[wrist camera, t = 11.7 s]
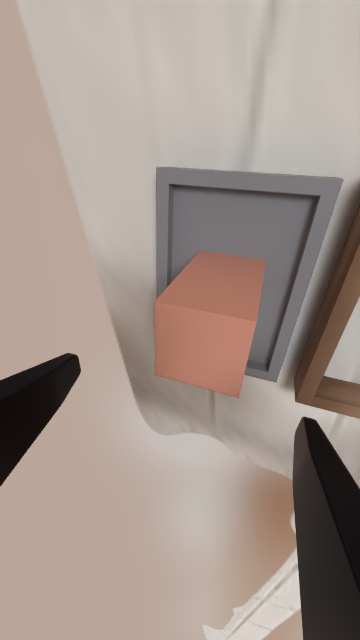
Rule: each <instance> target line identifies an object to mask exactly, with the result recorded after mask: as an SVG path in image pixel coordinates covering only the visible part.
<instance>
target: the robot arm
mask: <svg viewBox="0 0 360 640" xmlns="http://www.w3.org/2000/svg"><path fill="white" fill-rule="evenodd" d="M80 372H81V368H80V363H79V358H78V356H77V355H75V354H71V353H67V354H64V355H61V356H59V357H57V358H54V359H52V360H49V361H47V362H44V363H42V364H40V365H37V366H35V367H32V368H30V369H28V370H25V371H22V372H20V373H17V374H15V375H12V376H10V377H8V378H5V379H3V380H0V486H1V485H2V484H3V482H4V481H5V480H6V478H7V477H8V476H9V474H10V473H11V471H12V470H13V469H14V468H15V466H16V465H17V464H18V462H19V461H20V459H21V458H22V457H23V456H24V454H25V453H26V452H27V450H28V449H29V448H30V446H31V445H32V443H33V442H34V441H35V439H36V438H37V437H38V435H39V434H40V433H41V431H42V430H43V429H44V427H45V426H46V425H47V423H48V422H49V421H50V419H51V418H52V417H53V415H54V414H55V413H56V411H57V410H58V409H59V407H60V406H61V404H62V403H63V401H64V400H65V398H66V396H67V395H68V393H69V391H70V389H71V388H72V386H73V385H74V383H75V381H76V380H77V378H78V376H79V375H80ZM293 497H294V512H295V526H296V541H297V555H298V570H299V584H300V598H301V613H302V627H303V640H360V488H359V487H358V485H357V484H356V482H355V481H354V479H353V477H352V476H351V474H350V473H349V471H348V470H347V468H346V466H345V465H344V463H343V462H342V460H341V459H340V457H339V455H338V454H337V452H336V451H335V449H334V448H333V446H332V444H331V443H330V441H329V440H328V438H327V436H326V435H325V433H324V432H323V430H322V429H321V427H320V425H319V424H318V422H317V421H316V420H314V419H311V418H307V417H302V419H301V421H300V423H299V425H298V427H297V430H296V432H295V439H294V460H293Z"/></svg>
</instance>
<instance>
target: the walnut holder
mask: <svg viewBox="0 0 360 640" xmlns="http://www.w3.org/2000/svg"><path fill="white" fill-rule="evenodd" d="M359 296H360V205H359V208H358V211H357V213H356V216H355V219H354V221H353V224H352V227H351V229H350V232H349V235H348V237H347V240H346V243H345V245H344V248H343V250H342V253H341V256H340V258H339V261H338V264H337V266H336V269H335V272H334V274H333V277H332V280H331V282H330V285H329V288H328V290H327V293H326V296H325V298H324V301H323V304H322V306H321V309H320V311H319V314H318V317H317V319H316V322H315V325H314V327H313V330H312V333H311V335H310V338H309V341H308V343H307V346H306V349H305V351H304V354H303V357H302V359H301V362H300V364H299V367H298V370H297V372H296V375H295V378H294V388H295V402H298V403H302V404H305V405H309V406H313V407H317V408H321V409H325V410H328V411H332V412H336V413H340V414H344V415H347V416H351V417H355V418H359V419H360V385H359V384H355V383H351V382H346V381H342V380H338V379H333V378H329V377H325V376H323V375H324V373H325V371H326V369H327V366H328V364H329V362H330V360H331V358H332V355H333V353H334V351H335V349H336V347H337V345H338V342H339V340H340V338H341V336H342V334H343V331H344V329H345V327H346V325H347V323H348V320H349V318H350V316H351V314H352V312H353V309H354V307H355V305H356V303H357V301H358V298H359Z"/></svg>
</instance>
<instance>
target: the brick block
mask: <svg viewBox="0 0 360 640" xmlns="http://www.w3.org/2000/svg"><path fill="white" fill-rule="evenodd" d="M265 263H266V260H262V259H255V258H248V257H241V256H234V255H227V254H220V253H213V252H206V251H199V253H198V254H197V255H196V256H195V257H194V258H193V259H192V260H191V261H190V263H189V264H188V265H187V266H186V267H185V268H184V269H183V270H182V271H181V273H180V274H179V275H178V276H177V277H176V278H175V279H174V280H173V281H172V283H171V284H170V285H169V286H168V287H167V288H166V289H165V290H164V291H163V293H162V294H161V295H160V296H159V297H158V298H157V299H156V300H155V375H157V376H161V377H165V378H168V379H172V380H176V381H179V382H183V383H187V384H190V385H194V386H198V387H201V388H205V389H209V390H212V391H216V392H220V393H223V394H227V395H230V396H234V397H238V398H239V394H240V390H241V386H242V381H243V377H244V373H245V369H246V365H247V360H248V356H249V352H250V348H251V344H252V339H253V335H254V331H255V327H256V322H257V316H258V310H259V303H260V296H261V290H262V283H263V276H264V270H265Z"/></svg>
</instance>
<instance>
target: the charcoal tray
mask: <svg viewBox="0 0 360 640" xmlns="http://www.w3.org/2000/svg"><path fill="white" fill-rule="evenodd" d="M342 182H343V179H341V178H335V177H318V176H302V175H286V174H270V173H254V172H238V171H222V170H206V169H190V168H173V167H156V213H157V298H158V297H159V296H160V295H161V294H162V293H163V291H164V290H165V289H166V288H167V287H168V286H169V285H170V284H171V283H172V281H173V280H174V279H175V278H176V277H177V276H178V275H179V274H180V273H181V271H182V270H183V269H184V268H185V267H186V266H187V265H188V264H189V263H190V261H191V260H192V259H193V258H194V257H195V256H196V255H197V254H198V253H199V251H206V252H213V253H220V254H227V255H234V256H241V257H248V258H255V259H262V260H266V263H265V270H264V276H263V283H262V290H261V296H260V303H259V310H258V316H257V322H256V327H255V331H254V335H253V339H252V344H251V348H250V352H249V356H248V360H247V365H246V369H245V373H244V375H248V376H252V377H256V378H260V379H264V380H268V381H272V382H277V379H278V376H279V373H280V370H281V367H282V364H283V361H284V358H285V354H286V351H287V348H288V345H289V342H290V339H291V336H292V333H293V330H294V327H295V324H296V321H297V318H298V315H299V312H300V309H301V306H302V303H303V300H304V297H305V294H306V291H307V288H308V285H309V282H310V279H311V276H312V273H313V270H314V267H315V264H316V261H317V258H318V255H319V252H320V249H321V246H322V243H323V240H324V237H325V234H326V230H327V227H328V224H329V221H330V218H331V215H332V212H333V209H334V206H335V203H336V200H337V197H338V194H339V191H340V188H341V185H342Z"/></svg>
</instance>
